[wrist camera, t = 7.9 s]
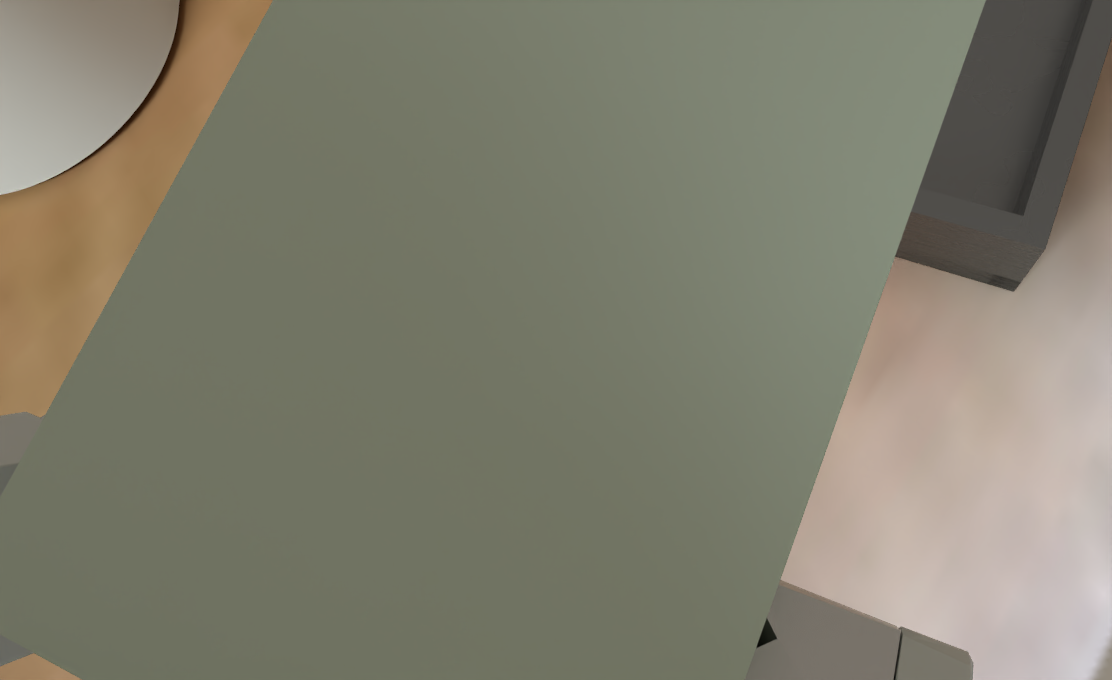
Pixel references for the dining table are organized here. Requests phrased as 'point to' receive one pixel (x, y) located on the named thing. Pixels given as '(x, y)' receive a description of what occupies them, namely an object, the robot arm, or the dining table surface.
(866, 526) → the dining table surface
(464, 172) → the sage green slab
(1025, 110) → the grey rectangular tray
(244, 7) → the dining table surface
